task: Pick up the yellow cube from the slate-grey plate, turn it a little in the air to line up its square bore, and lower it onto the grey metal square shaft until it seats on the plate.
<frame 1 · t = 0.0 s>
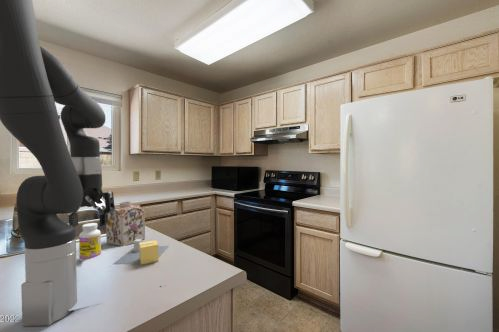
hand: (89, 226, 67), 17 cm above the table, tool pointing down, fingers open, 8 cm apart
yellow cube: (148, 259, 81), point 1 cm above the table, touching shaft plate
supplement bottle: (90, 258, 85), on the table
decorative jar: (126, 241, 103), on the table
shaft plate: (143, 257, 86), on the table
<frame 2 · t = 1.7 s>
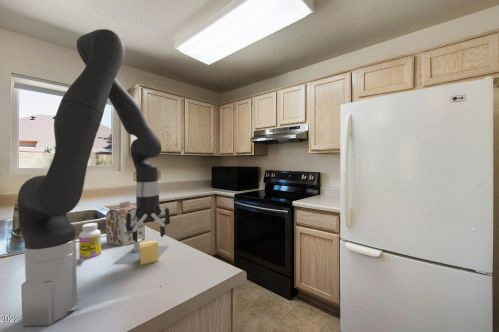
hand: (149, 238, 81), 9 cm above the table, tool pointing down, fingers open, 8 cm apart
nothing on the table moved.
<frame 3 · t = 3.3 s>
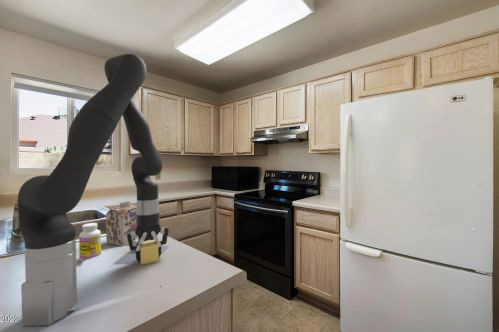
hand: (148, 258, 81), 2 cm above the table, tool pointing down, fingers closed on yellow cube, 5 cm apart
yellow cube: (148, 259, 81), point 1 cm above the table, touching gripper, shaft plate
everything else where it was.
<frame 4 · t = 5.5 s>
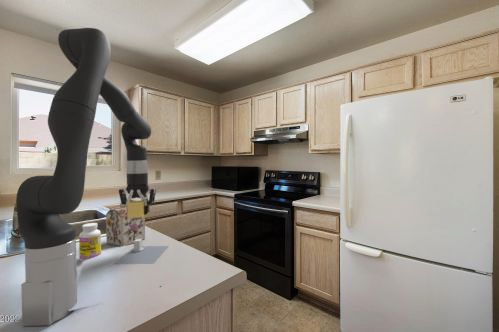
hand: (138, 214, 89), 15 cm above the table, tool pointing down, fingers closed on yellow cube, 5 cm apart
yellow cube: (138, 215, 89), point 15 cm above the table, touching gripper
everything else where it was.
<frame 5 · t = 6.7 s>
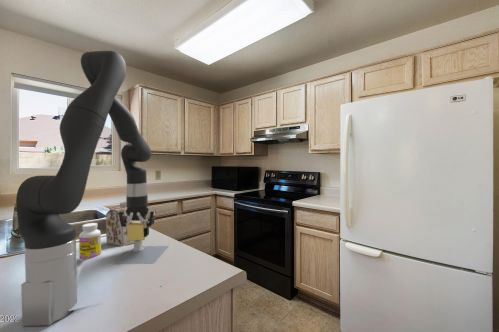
hand: (137, 236, 89), 7 cm above the table, tool pointing down, fingers closed on yellow cube, 5 cm apart
yellow cube: (138, 237, 90), point 6 cm above the table, touching gripper
everything else where it was.
when the fingers open (3 cm above the table, at t = 7.9 s): yellow cube stays where it is, resting on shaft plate.
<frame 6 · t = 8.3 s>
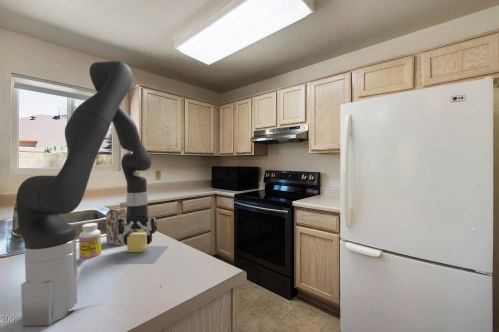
hand: (138, 243, 89), 4 cm above the table, tool pointing down, fingers open, 8 cm apart
yellow cube: (138, 249, 90), point 2 cm above the table, touching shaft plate
everything else where it was.
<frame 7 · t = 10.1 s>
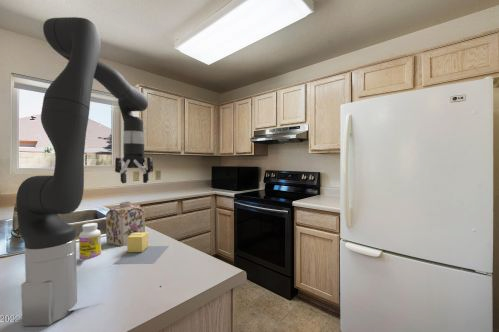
hand: (134, 182, 92), 28 cm above the table, tool pointing down, fingers open, 8 cm apart
nothing on the table moved.
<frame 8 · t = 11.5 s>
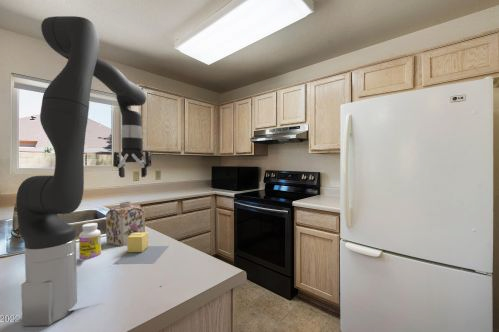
hand: (132, 177, 92), 30 cm above the table, tool pointing down, fingers open, 8 cm apart
nothing on the table moved.
at the end: yellow cube 0.1 cm from the target spot on the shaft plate, point 1.6 cm above the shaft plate's base; yellow cube tilted 0°; the gripper is holding nothing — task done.
